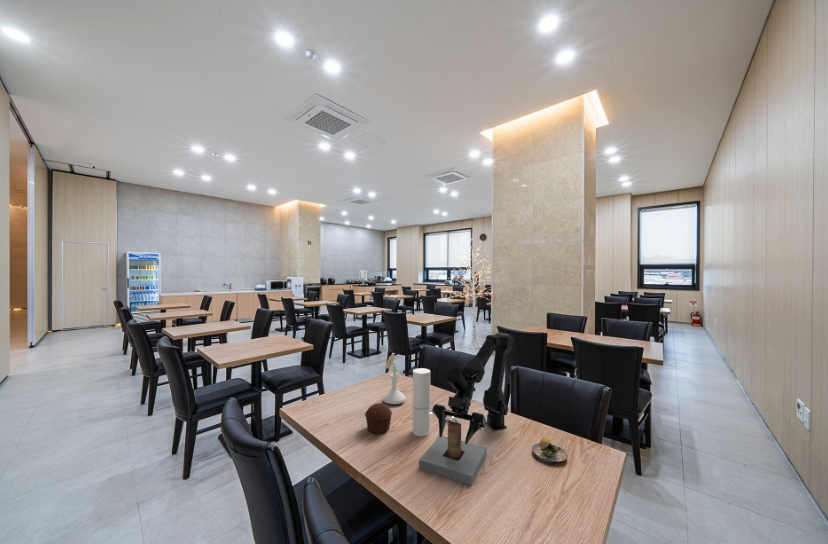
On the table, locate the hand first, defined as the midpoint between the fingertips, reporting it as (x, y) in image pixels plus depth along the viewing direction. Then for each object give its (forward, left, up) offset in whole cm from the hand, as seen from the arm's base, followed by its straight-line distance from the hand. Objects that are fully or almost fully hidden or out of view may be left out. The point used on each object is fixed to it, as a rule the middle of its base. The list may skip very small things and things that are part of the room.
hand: (452, 440), depth 107 cm
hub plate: (-1, -1, -8) cm, 8 cm away
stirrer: (-11, -34, -9) cm, 37 cm away
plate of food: (-35, +7, -9) cm, 37 cm away
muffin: (+18, -32, -8) cm, 38 cm away
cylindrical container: (+2, -24, -8) cm, 25 cm away
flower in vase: (+4, -56, -8) cm, 57 cm away
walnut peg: (-1, -1, -8) cm, 8 cm away
